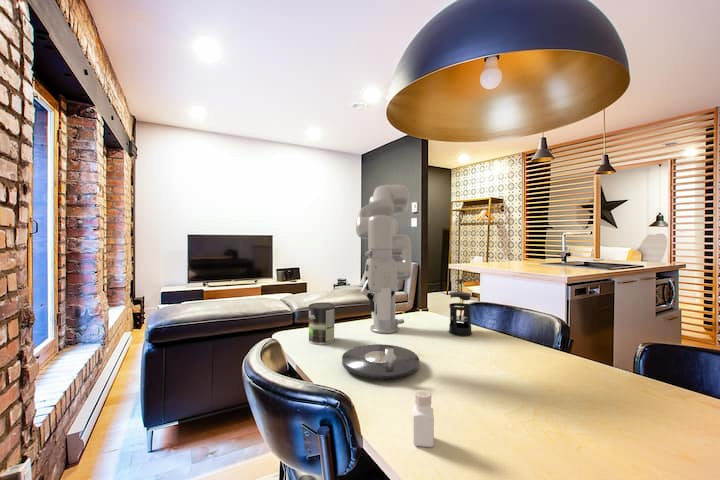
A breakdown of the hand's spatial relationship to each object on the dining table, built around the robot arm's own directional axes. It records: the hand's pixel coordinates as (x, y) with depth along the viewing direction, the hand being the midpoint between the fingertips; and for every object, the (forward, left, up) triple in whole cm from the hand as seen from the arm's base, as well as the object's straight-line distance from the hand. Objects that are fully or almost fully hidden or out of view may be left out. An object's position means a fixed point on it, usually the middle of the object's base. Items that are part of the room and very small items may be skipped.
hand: (380, 312), depth 99 cm
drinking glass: (0, 0, -2) cm, 2 cm away
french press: (-50, -13, -17) cm, 54 cm away
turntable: (0, 0, -17) cm, 17 cm away
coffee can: (+6, -33, -17) cm, 38 cm away
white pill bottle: (+13, +35, -17) cm, 41 cm away
